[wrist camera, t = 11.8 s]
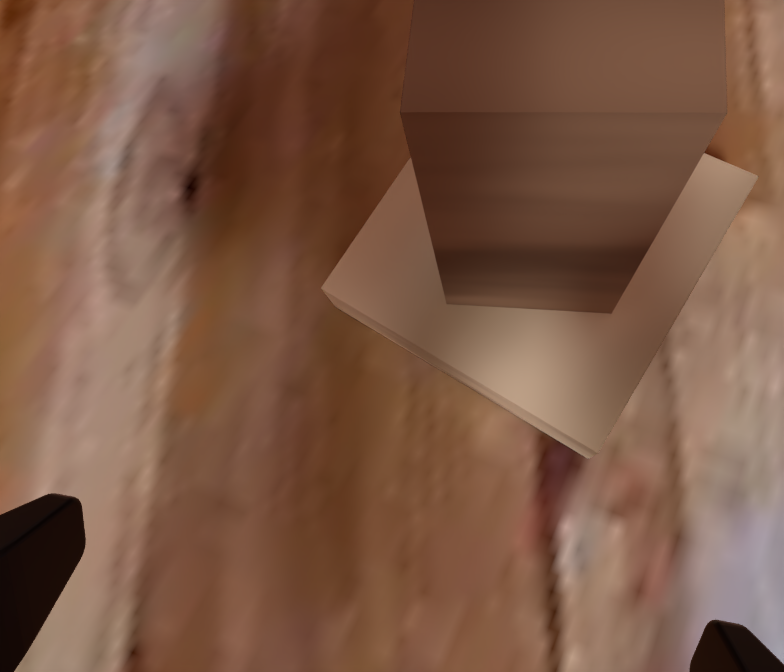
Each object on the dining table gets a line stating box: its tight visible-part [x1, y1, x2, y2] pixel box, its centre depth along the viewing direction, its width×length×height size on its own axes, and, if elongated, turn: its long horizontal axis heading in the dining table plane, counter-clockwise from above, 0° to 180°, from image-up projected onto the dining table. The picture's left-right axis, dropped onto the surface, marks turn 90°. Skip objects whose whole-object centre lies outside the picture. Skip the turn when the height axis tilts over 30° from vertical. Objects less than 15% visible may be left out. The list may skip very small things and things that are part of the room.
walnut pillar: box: [400, 0, 727, 314], centre depth 15 cm, size 5×5×10 cm
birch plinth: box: [321, 153, 759, 459], centre depth 21 cm, size 10×10×2 cm
